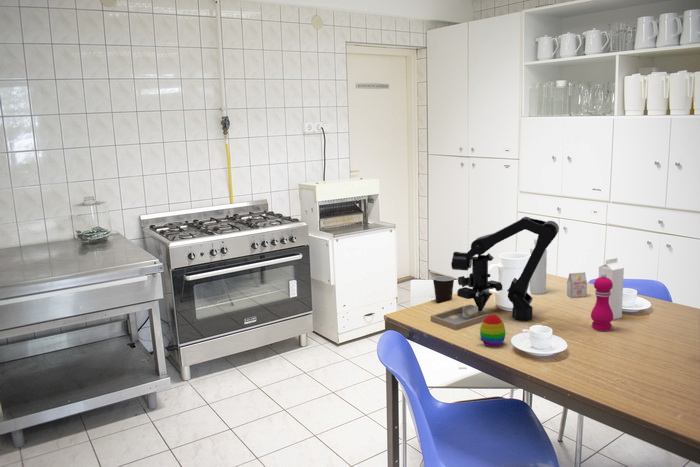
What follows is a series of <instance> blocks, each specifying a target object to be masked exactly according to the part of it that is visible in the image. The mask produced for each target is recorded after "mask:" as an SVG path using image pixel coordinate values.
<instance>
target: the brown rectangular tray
mask: <svg viewBox="0 0 700 467" xmlns="http://www.w3.org/2000/svg"><path fill="white" fill-rule="evenodd" d="M489 315H490V314H489V313H485V314H481V315H478V317H476V318H472V319H468V318H465V317H463V306H459V307H456V308H452V309H449V310H445V311H442V312H440V313H439V312H438V313H436V314H432V315H430V322H433V323H434V324H436V325H437V324H438V325H440V326H443V327H446V328H448V329H451V330H455V331H458V330H462V329H465V328H467V327H470V326H474V325H476V324H480V323H482V322H483V321H484V319H485V318H486V317H487V316H489ZM452 316H453V317H454V316H457V317H455V318H452Z"/></svg>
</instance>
